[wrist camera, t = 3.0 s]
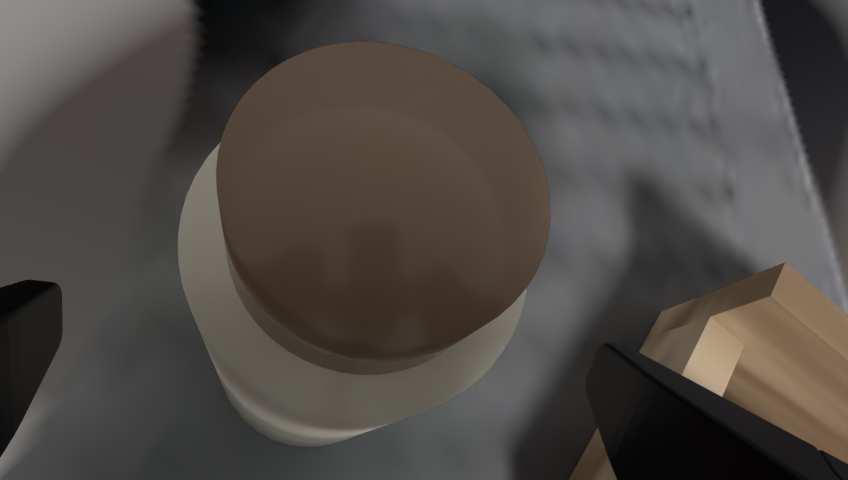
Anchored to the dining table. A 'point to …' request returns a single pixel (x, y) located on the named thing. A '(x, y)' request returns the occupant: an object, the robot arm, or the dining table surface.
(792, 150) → the dining table surface
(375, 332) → the jar
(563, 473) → the dining table surface
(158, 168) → the dining table surface
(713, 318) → the wooden frame
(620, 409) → the robot arm
